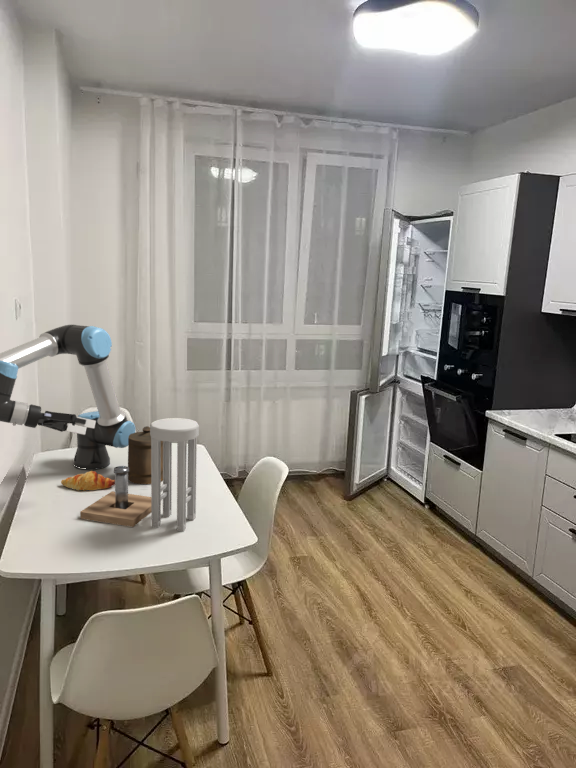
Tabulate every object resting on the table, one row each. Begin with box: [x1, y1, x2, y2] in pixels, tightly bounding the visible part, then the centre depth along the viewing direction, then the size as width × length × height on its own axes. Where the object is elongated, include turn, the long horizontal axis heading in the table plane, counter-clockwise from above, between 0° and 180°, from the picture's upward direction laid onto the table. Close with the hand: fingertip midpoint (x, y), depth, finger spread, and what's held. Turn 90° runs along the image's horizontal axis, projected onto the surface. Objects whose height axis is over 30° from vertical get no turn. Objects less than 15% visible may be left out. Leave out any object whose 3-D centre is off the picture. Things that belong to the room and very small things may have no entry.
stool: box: [149, 417, 200, 532], centre depth 193 cm, size 16×16×35 cm
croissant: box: [60, 470, 115, 491], centre depth 223 cm, size 21×10×8 cm, turn 92°
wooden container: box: [127, 425, 163, 485], centre depth 234 cm, size 15×15×22 cm
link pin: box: [113, 465, 129, 509], centre depth 201 cm, size 5×5×16 cm
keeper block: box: [79, 490, 151, 528], centre depth 203 cm, size 20×20×2 cm
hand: (90, 428), depth 202 cm, fingers open, 13 cm apart
